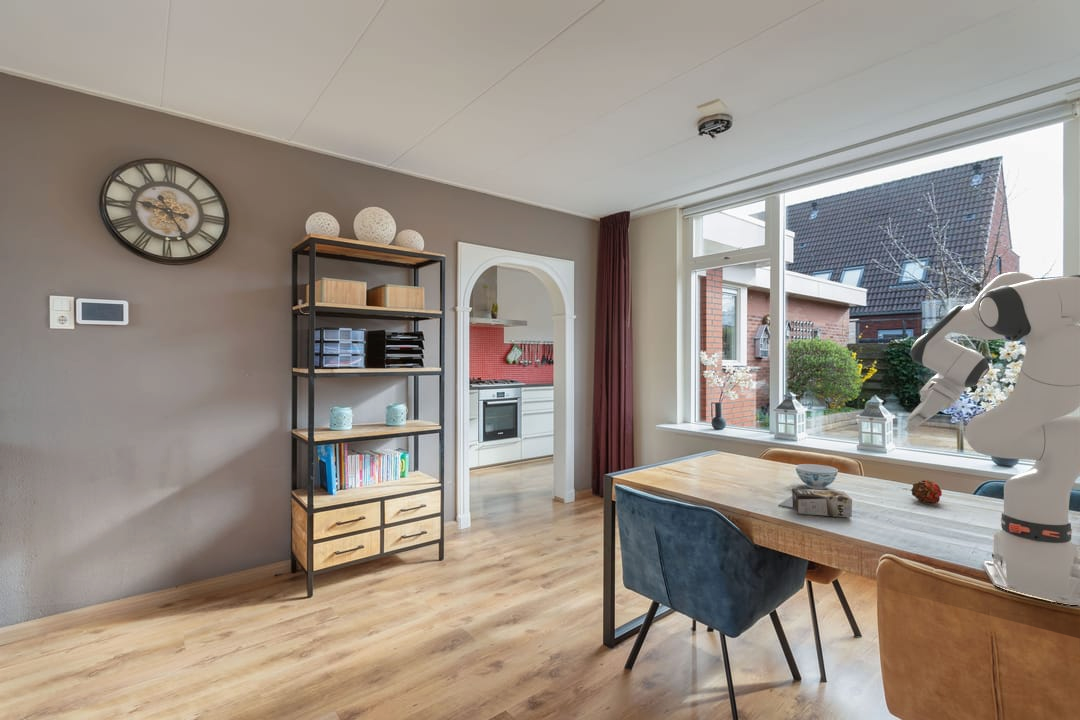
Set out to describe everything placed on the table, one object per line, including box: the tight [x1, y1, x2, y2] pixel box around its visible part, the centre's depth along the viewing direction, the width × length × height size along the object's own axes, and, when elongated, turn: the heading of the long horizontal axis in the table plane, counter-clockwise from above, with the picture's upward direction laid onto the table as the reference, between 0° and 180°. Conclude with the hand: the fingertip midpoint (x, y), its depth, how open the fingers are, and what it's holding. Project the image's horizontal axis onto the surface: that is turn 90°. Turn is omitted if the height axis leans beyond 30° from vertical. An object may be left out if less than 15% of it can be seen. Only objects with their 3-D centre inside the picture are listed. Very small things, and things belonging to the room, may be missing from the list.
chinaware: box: [795, 463, 839, 490], centre depth 204 cm, size 15×15×8 cm
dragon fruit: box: [910, 479, 943, 504], centre depth 183 cm, size 8×8×12 cm
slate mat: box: [777, 495, 795, 510], centre depth 178 cm, size 14×17×1 cm
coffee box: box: [791, 488, 853, 518], centre depth 171 cm, size 9×6×16 cm
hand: (907, 430), depth 155 cm, fingers closed
